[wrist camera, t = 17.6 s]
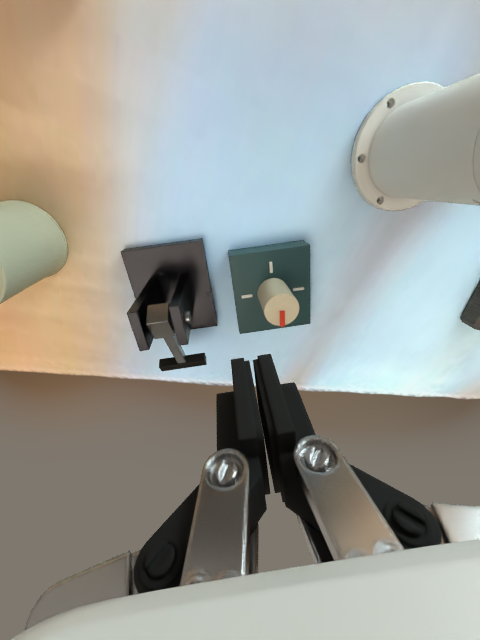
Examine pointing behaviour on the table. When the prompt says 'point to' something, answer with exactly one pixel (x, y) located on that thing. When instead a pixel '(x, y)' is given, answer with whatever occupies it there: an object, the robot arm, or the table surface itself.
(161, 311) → the lever
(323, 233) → the table surface
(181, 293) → the pivoting lever stand
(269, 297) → the dial
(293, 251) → the dial panel
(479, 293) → the walkie-talkie
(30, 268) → the can
